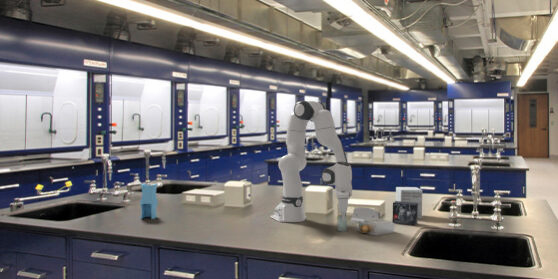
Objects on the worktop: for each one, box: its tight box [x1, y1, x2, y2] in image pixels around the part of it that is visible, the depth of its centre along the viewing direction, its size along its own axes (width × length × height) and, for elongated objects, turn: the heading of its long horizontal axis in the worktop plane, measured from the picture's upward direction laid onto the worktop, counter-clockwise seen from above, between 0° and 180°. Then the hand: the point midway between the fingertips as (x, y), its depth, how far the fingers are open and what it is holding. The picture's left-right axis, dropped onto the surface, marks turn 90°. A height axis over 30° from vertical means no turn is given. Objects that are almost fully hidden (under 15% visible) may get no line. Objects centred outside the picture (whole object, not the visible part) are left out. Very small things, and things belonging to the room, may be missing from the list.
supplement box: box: [395, 186, 423, 220], centre depth 280 cm, size 13×13×18 cm
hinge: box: [349, 206, 381, 225], centre depth 261 cm, size 17×5×10 cm, turn 57°
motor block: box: [358, 218, 395, 237], centre depth 239 cm, size 12×17×6 cm
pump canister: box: [337, 214, 348, 232], centre depth 243 cm, size 5×5×8 cm
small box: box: [391, 200, 418, 226], centre depth 261 cm, size 13×7×12 cm, turn 62°
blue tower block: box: [139, 183, 159, 220], centre depth 272 cm, size 8×8×20 cm
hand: (344, 218), depth 242 cm, fingers open, 8 cm apart
